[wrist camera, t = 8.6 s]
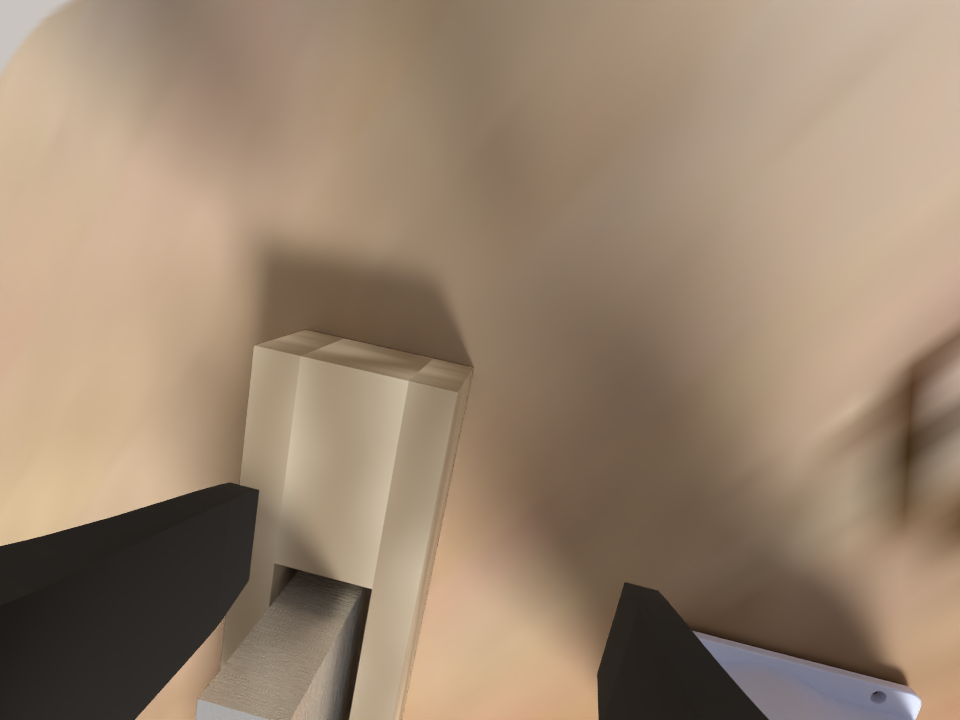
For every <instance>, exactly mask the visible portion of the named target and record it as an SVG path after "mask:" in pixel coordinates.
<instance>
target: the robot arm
mask: <svg viewBox="0 0 960 720" xmlns="http://www.w3.org/2000/svg"><path fill="white" fill-rule="evenodd" d="M258 498H259V490H258V489H254V488H250V487H246V486H242V485H238V484H234V483H226V484H221V485H217V486H213V487H210V488H206V489H202V490H199V491H196V492H192V493H189V494H186V495H182V496H179V497H176V498H173V499H169V500H166V501H163V502H160V503H157V504H153V505H150V506H147V507H144V508H140V509H137V510H134V511H131V512H127V513H124V514H121V515H117V516H114V517H111V518H107V519H103V520H100V521H96V522H92V523H89V524H85V525H82V526H78V527H74V528H71V529H67V530H64V531H60V532H56V533H53V534H49V535H45V536H42V537H37V538H33V539H29V540H25V541H21V542H17V543H12V544H8V545H4V546H0V720H135V719H136V718H137V717H138V715H139V714H140V713H141V712H142V711H143V710H144V709H145V708H146V706H147V705H148V704H149V703H150V702H151V701H152V700H153V699H154V698H155V696H156V695H157V694H158V693H159V692H160V691H161V690H162V689H163V687H164V686H165V685H166V684H167V683H168V682H169V681H170V680H171V679H172V677H173V676H174V675H175V674H176V673H177V672H178V671H179V670H180V668H181V667H182V666H183V665H184V664H185V663H186V662H187V661H188V659H189V658H190V657H191V656H192V655H193V654H194V653H195V651H196V650H197V649H198V648H199V647H200V646H201V645H202V644H203V642H204V641H205V640H206V639H207V638H208V637H209V635H210V634H211V633H212V632H213V631H214V630H215V629H216V627H217V626H218V625H219V623H220V622H221V620H222V619H223V618H224V616H225V615H226V613H227V612H228V611H229V609H230V608H231V606H232V605H233V603H234V602H235V601H236V599H237V598H238V596H239V595H240V593H241V592H242V590H243V589H244V587H245V586H246V584H247V583H248V581H249V576H250V567H251V559H252V550H253V541H254V532H255V524H256V515H257V506H258ZM597 679H598V713H599V720H915V719H916V717H917V715H918V712H919V710H920V708H921V704H922V702H921V699H920V698H919V696H918V695H917V694H916V693H915V692H914V691H913V690H912V689H911V688H910V687H907V686H905V685H901V684H897V683H893V682H889V681H885V680H882V679H878V678H874V677H870V676H866V675H862V674H858V673H854V672H850V671H847V670H843V669H839V668H835V667H831V666H827V665H823V664H819V663H816V662H812V661H808V660H804V659H800V658H796V657H792V656H788V655H785V654H781V653H777V652H773V651H769V650H765V649H761V648H757V647H753V646H750V645H746V644H742V643H738V642H734V641H730V640H726V639H722V638H719V637H715V636H711V635H707V634H703V633H699V632H695V631H692V630H691V629H690V628H689V626H688V625H687V624H686V623H685V622H684V620H683V619H682V618H681V617H680V616H679V614H678V613H677V612H676V611H675V610H674V608H673V607H672V606H671V605H670V604H669V602H668V601H667V600H666V599H665V598H664V597H663V596H662V595H661V594H660V592H659V591H657V590H653V589H649V588H645V587H641V586H637V585H633V584H629V583H626V582H625V583H624V587H623V590H622V593H621V597H620V600H619V603H618V607H617V610H616V613H615V617H614V620H613V623H612V627H611V630H610V633H609V637H608V640H607V643H606V647H605V650H604V653H603V657H602V660H601V663H600V667H599V670H598V673H597ZM876 691H878V692H877V693H876V694H873V693H874V692H876ZM872 694H873V695H872Z"/></svg>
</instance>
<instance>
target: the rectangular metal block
mask: <svg viewBox="0 0 960 720" xmlns="http://www.w3.org/2000/svg"><path fill="white" fill-rule="evenodd" d="M371 593H372V589H370V588H366V587H362V586H358V585H355V584H351V583H347V582H343V581H339V580H336V579H332V578H328V577H324V576H321V575H317V574H313V573H309V572H305V571H302V570H298V572H297V573H296V574H295V575H294V577H293V578H292V579H291V581H290V582H289V583H288V584H287V586H286V587H285V588H284V589H283V591H282V592H281V593H280V595H279V596H278V597H277V598H276V600H275V601H274V602H273V603H272V605H271V606H270V607H269V609H268V610H267V611H266V612H265V614H264V615H263V616H262V618H261V619H260V620H259V621H258V623H257V624H256V625H255V626H254V628H253V629H252V630H251V632H250V633H249V634H248V635H247V637H246V638H245V639H244V640H243V642H242V643H241V644H240V646H239V647H238V648H237V649H236V651H235V652H234V653H233V654H232V656H231V657H230V658H229V660H228V661H227V662H226V663H225V665H224V666H223V667H222V668H221V670H220V671H219V672H218V674H217V675H216V676H215V677H214V679H213V680H212V681H211V683H210V684H209V685H208V686H207V688H206V689H205V690H204V691H203V693H202V694H201V695H200V697H199V698H198V700H197V711H196V720H342V719H343V716H344V714H345V712H346V709H347V707H348V705H349V702H350V700H351V698H352V696H353V693H354V690H355V684H356V678H357V672H358V667H359V661H360V655H361V650H362V644H363V638H364V633H365V627H366V621H367V616H368V610H369V604H370V599H371Z"/></svg>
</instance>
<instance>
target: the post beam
mask: <svg viewBox="0 0 960 720" xmlns="http://www.w3.org/2000/svg"><path fill="white" fill-rule="evenodd" d="M473 368H474V367H470V366H465V365H461V364H456V363H452V362H447V361H443V360H439V359H434V358H430V357H425V356H421V355H416V354H412V353H407V352H403V351H399V350H394V349H390V348H385V347H381V346H376V345H372V344H368V343H363V342H359V341H354V340H350V339H345V338H341V337H336V336H332V335H328V334H323V333H319V332H314V331H310V330H303V331H300V332H297V333H293V334H290V335H287V336H284V337H280V338H277V339H274V340H270V341H267V342H264V343H260V344H257V345H254V351H253V361H252V370H251V380H250V389H249V399H248V408H247V418H246V427H245V437H244V446H243V456H242V465H241V475H240V484H239V485H242V486H246V487H250V488H254V489H258V490H259V498H258V506H257V515H256V524H255V532H254V541H253V550H252V559H251V567H250V576H249V581H248V583H247V584H246V586H245V587H244V589H243V590H242V592H241V593H240V595H239V596H238V598H237V599H236V601H235V602H234V603H233V605H232V606H231V608H230V609H229V611H228V612H227V613H226V617H225V626H224V636H223V645H222V655H221V664H220V670H221V668H222V667H223V666H224V665H225V663H226V662H227V661H228V660H229V658H230V657H231V656H232V654H233V653H234V652H235V651H236V649H237V648H238V647H239V646H240V644H241V643H242V642H243V640H244V639H245V638H246V637H247V635H248V634H249V633H250V632H251V630H252V629H253V628H254V626H255V625H256V624H257V623H258V621H259V620H260V619H261V618H262V616H263V615H264V614H265V612H266V611H267V610H268V609H269V607H270V606H271V605H272V603H273V602H274V601H275V600H276V598H277V597H278V596H279V595H280V593H281V592H282V591H283V589H284V588H285V587H286V586H287V584H288V583H289V582H290V581H291V579H292V578H293V577H294V575H295V574H296V573H297V572H298V570H302V571H305V572H309V573H313V574H317V575H321V576H324V577H328V578H332V579H336V580H339V581H343V582H347V583H351V584H355V585H358V586H362V587H366V588H370V589H372V593H371V599H370V604H369V610H368V616H367V621H366V627H365V633H364V638H363V644H362V650H361V655H360V661H359V667H358V672H357V678H356V684H355V690H354V693H353V696H352V698H351V700H350V702H349V705H348V707H347V709H346V712H345V714H344V716H343V719H342V720H402V716H403V712H404V707H405V702H406V697H407V692H408V687H409V682H410V677H411V672H412V667H413V662H414V658H415V653H416V648H417V643H418V638H419V633H420V628H421V623H422V618H423V613H424V608H425V604H426V599H427V594H428V589H429V584H430V579H431V574H432V569H433V564H434V559H435V554H436V550H437V545H438V540H439V535H440V530H441V525H442V520H443V515H444V510H445V505H446V500H447V495H448V491H449V486H450V481H451V476H452V471H453V466H454V461H455V456H456V451H457V446H458V441H459V437H460V432H461V427H462V422H463V417H464V412H465V407H466V402H467V397H468V392H469V387H470V383H471V378H472V373H473Z"/></svg>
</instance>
